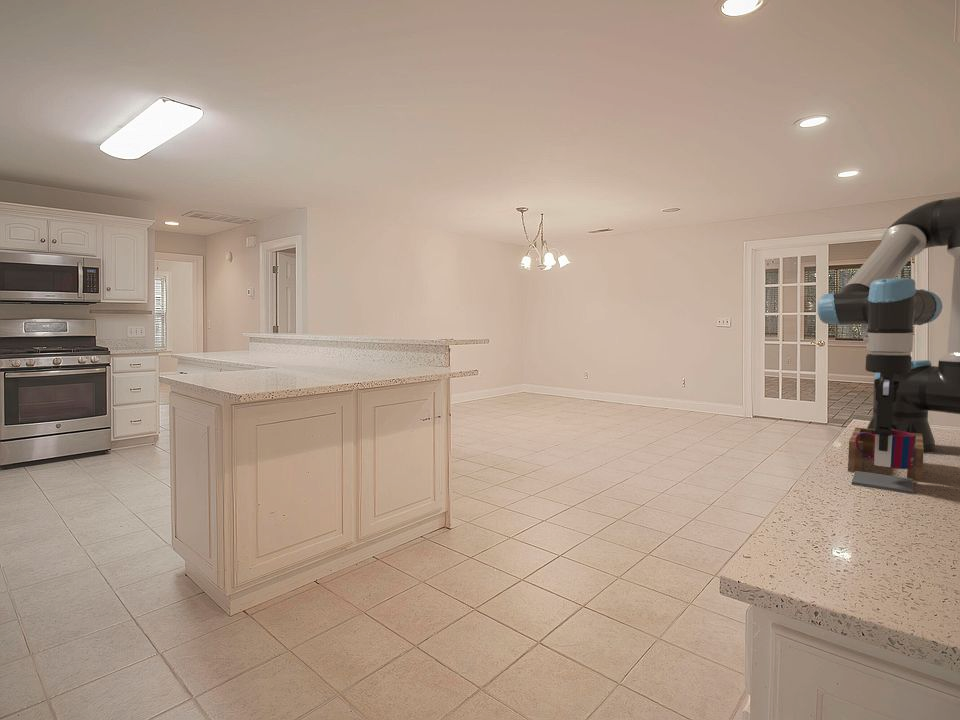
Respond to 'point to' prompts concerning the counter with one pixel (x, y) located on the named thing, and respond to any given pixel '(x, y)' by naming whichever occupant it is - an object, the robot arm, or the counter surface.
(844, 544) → the counter surface
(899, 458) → the mug
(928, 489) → the counter surface
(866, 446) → the walnut box
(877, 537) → the counter surface
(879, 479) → the slate mat
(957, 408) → the robot arm
